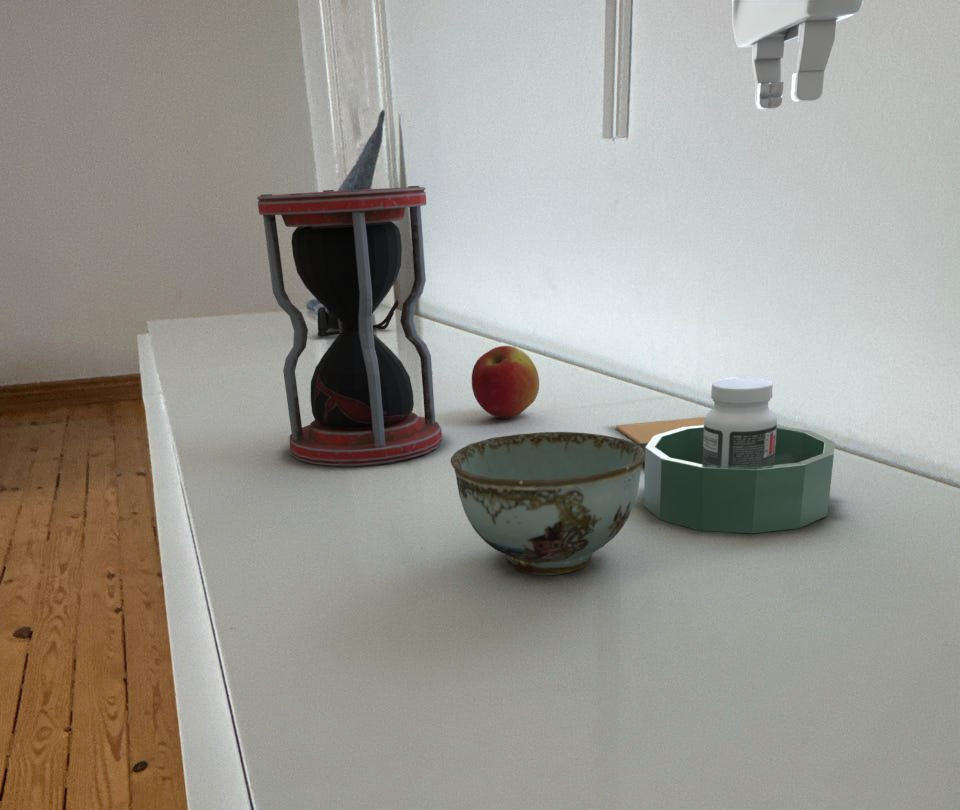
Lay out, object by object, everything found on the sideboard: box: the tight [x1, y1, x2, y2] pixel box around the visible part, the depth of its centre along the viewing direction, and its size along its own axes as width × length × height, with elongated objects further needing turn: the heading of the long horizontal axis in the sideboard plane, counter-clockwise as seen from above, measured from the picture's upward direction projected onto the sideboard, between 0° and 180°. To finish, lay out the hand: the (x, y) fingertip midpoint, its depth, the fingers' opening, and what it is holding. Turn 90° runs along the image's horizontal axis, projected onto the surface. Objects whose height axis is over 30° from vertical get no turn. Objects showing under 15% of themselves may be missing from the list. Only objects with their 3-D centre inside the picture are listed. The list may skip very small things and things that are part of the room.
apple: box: [471, 345, 540, 419], centre depth 114 cm, size 8×8×8 cm
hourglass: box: [256, 185, 443, 467], centre depth 101 cm, size 16×16×25 cm
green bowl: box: [643, 424, 836, 535], centre depth 82 cm, size 15×15×5 cm
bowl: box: [450, 431, 646, 576], centre depth 71 cm, size 14×13×8 cm
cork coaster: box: [615, 417, 705, 444], centre depth 105 cm, size 10×10×1 cm
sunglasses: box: [317, 299, 399, 337], centre depth 186 cm, size 17×14×5 cm
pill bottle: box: [702, 376, 778, 467], centre depth 81 cm, size 6×6×10 cm
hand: (785, 105), depth 75 cm, fingers open, 8 cm apart
